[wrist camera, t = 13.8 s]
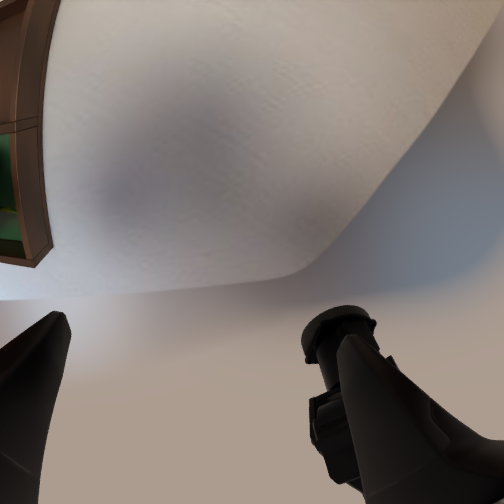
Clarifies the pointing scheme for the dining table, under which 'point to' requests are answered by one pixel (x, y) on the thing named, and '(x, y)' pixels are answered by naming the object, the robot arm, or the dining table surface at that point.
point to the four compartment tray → (23, 129)
